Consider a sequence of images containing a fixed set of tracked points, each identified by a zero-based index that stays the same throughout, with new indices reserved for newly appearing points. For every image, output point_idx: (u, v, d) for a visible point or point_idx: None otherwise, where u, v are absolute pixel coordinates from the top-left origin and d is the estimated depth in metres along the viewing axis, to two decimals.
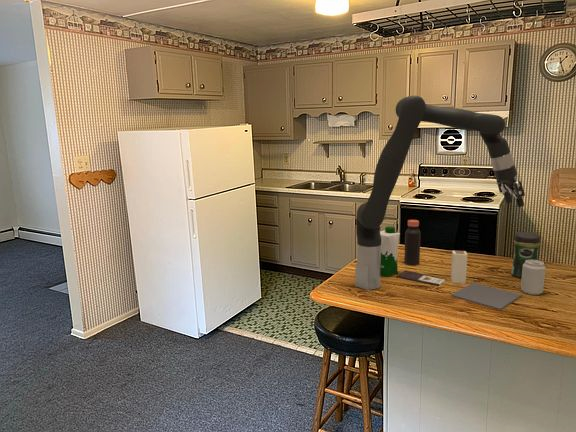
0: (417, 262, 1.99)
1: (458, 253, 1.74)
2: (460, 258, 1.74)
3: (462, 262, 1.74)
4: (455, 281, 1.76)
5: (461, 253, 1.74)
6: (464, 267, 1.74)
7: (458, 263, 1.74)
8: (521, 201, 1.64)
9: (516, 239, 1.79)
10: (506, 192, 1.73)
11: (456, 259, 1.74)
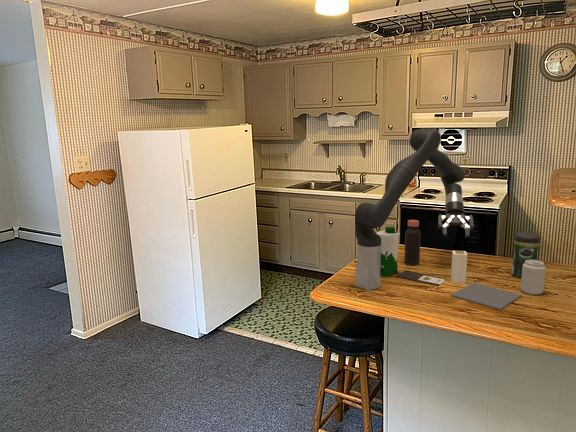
0: (417, 262, 1.99)
1: (458, 253, 1.74)
2: (460, 258, 1.74)
3: (462, 262, 1.74)
4: (455, 281, 1.76)
5: (461, 253, 1.74)
6: (464, 267, 1.74)
7: (458, 263, 1.74)
8: None
9: (516, 239, 1.79)
10: None
11: (456, 259, 1.74)
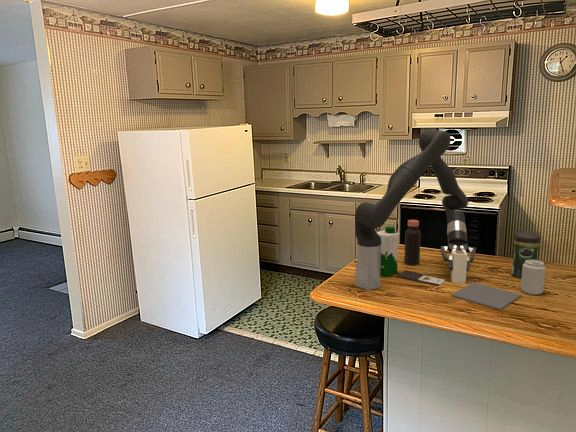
0: (417, 262, 1.99)
1: (458, 253, 1.74)
2: (460, 258, 1.74)
3: (462, 262, 1.74)
4: (455, 281, 1.76)
5: (461, 253, 1.74)
6: (464, 267, 1.74)
7: (458, 263, 1.74)
8: None
9: (516, 239, 1.79)
10: None
11: (456, 259, 1.74)
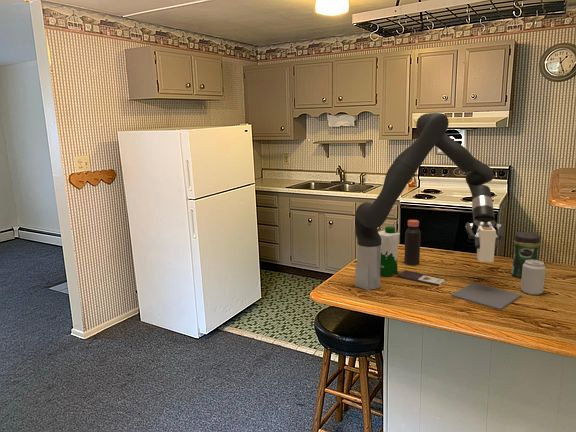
0: (417, 262, 1.99)
1: (486, 229, 1.60)
2: (488, 234, 1.60)
3: (490, 239, 1.60)
4: (482, 260, 1.62)
5: (489, 229, 1.60)
6: (492, 244, 1.60)
7: (486, 240, 1.60)
8: None
9: (516, 239, 1.79)
10: None
11: (484, 236, 1.60)
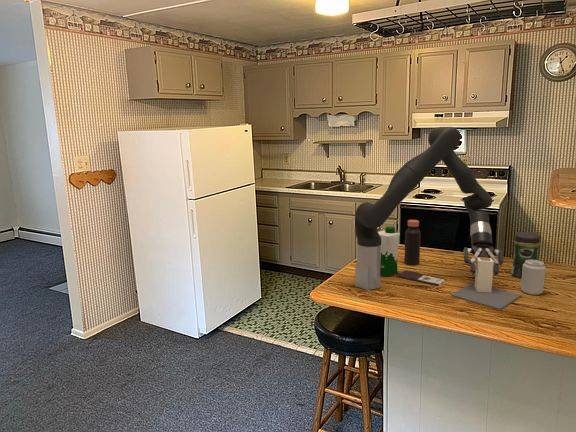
0: (417, 262, 1.99)
1: (483, 260, 1.63)
2: (486, 265, 1.62)
3: (488, 269, 1.62)
4: (480, 290, 1.64)
5: (487, 260, 1.63)
6: (490, 274, 1.63)
7: (483, 271, 1.63)
8: None
9: (516, 239, 1.79)
10: None
11: (481, 267, 1.63)
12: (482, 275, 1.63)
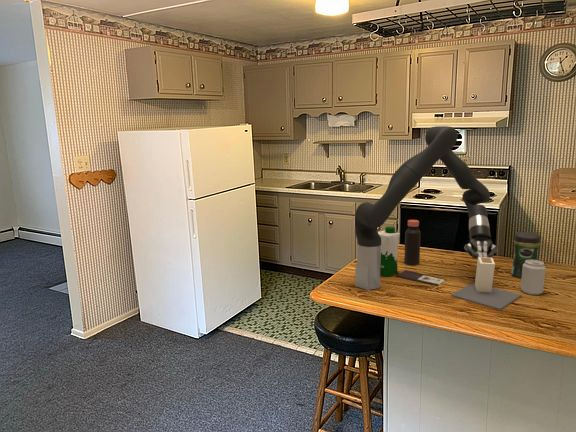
0: (417, 262, 1.99)
1: (485, 262, 1.61)
2: (487, 267, 1.60)
3: (489, 271, 1.61)
4: (480, 290, 1.64)
5: (488, 262, 1.60)
6: (490, 276, 1.61)
7: (484, 272, 1.61)
8: None
9: (516, 239, 1.79)
10: None
11: (482, 269, 1.61)
12: (483, 276, 1.62)
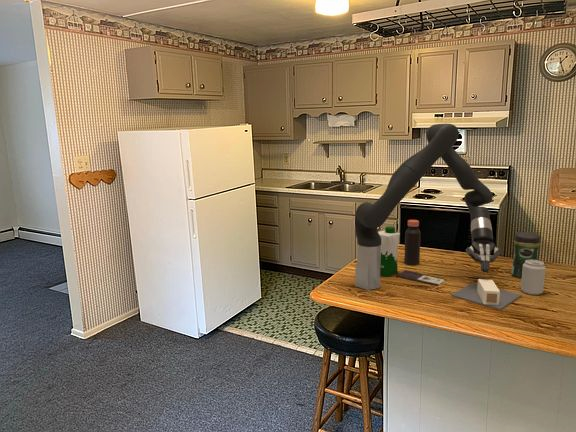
0: (417, 262, 1.99)
1: (489, 302, 1.53)
2: None
3: None
4: None
5: (492, 302, 1.52)
6: None
7: None
8: None
9: (516, 239, 1.79)
10: None
11: None
12: None
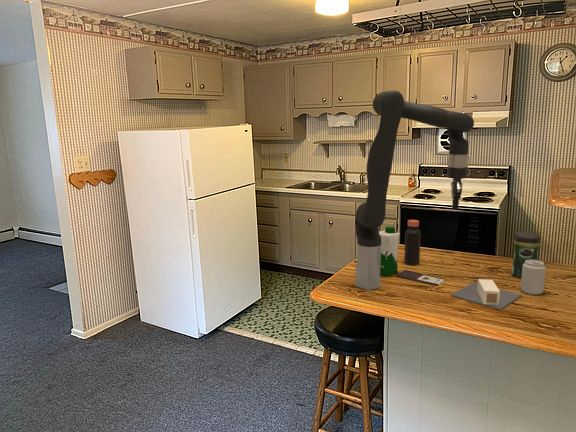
0: (417, 262, 1.99)
1: (489, 302, 1.53)
2: None
3: None
4: None
5: (492, 302, 1.52)
6: None
7: None
8: (456, 204, 1.75)
9: (516, 239, 1.79)
10: None
11: None
12: None
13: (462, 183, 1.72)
